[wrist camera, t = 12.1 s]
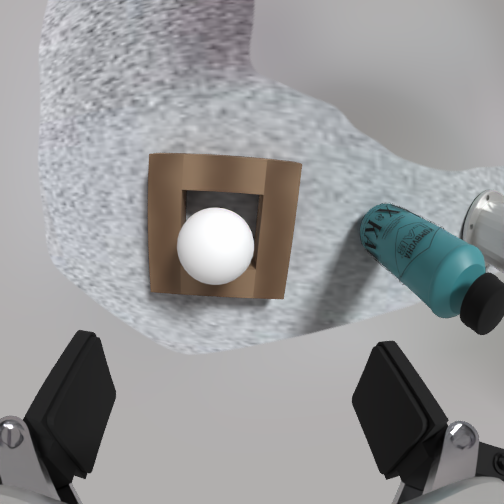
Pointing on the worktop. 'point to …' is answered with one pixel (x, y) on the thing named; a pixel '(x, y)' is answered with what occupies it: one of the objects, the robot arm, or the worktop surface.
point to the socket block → (222, 180)
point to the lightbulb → (215, 246)
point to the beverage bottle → (434, 266)
